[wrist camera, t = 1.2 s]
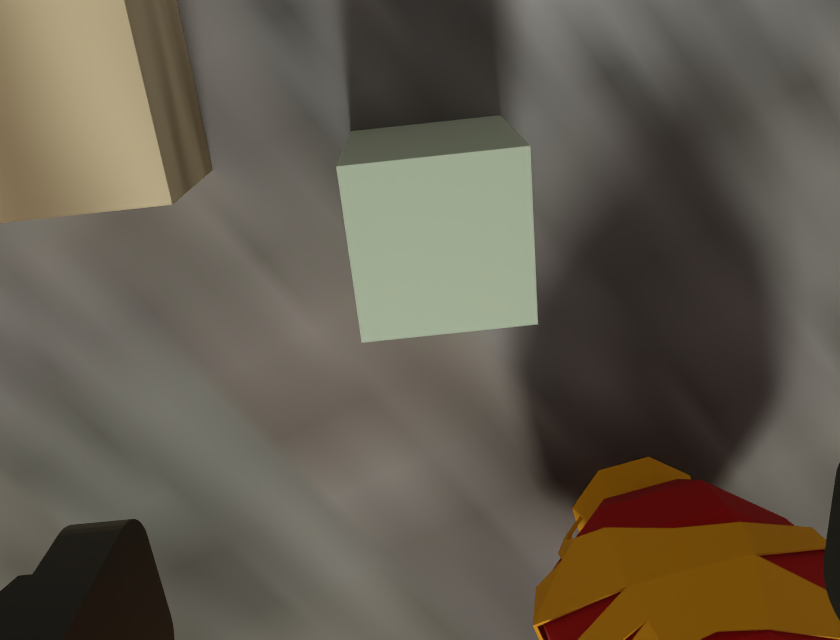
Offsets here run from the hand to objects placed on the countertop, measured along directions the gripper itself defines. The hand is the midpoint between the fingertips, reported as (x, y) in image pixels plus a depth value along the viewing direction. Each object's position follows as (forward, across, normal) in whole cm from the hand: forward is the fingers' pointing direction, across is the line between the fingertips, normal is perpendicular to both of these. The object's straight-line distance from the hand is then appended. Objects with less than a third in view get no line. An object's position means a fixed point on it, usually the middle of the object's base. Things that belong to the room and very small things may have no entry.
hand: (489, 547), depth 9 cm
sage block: (+18, 0, 0) cm, 18 cm away
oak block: (+18, +11, -6) cm, 22 cm away
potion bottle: (+18, -7, +14) cm, 24 cm away
